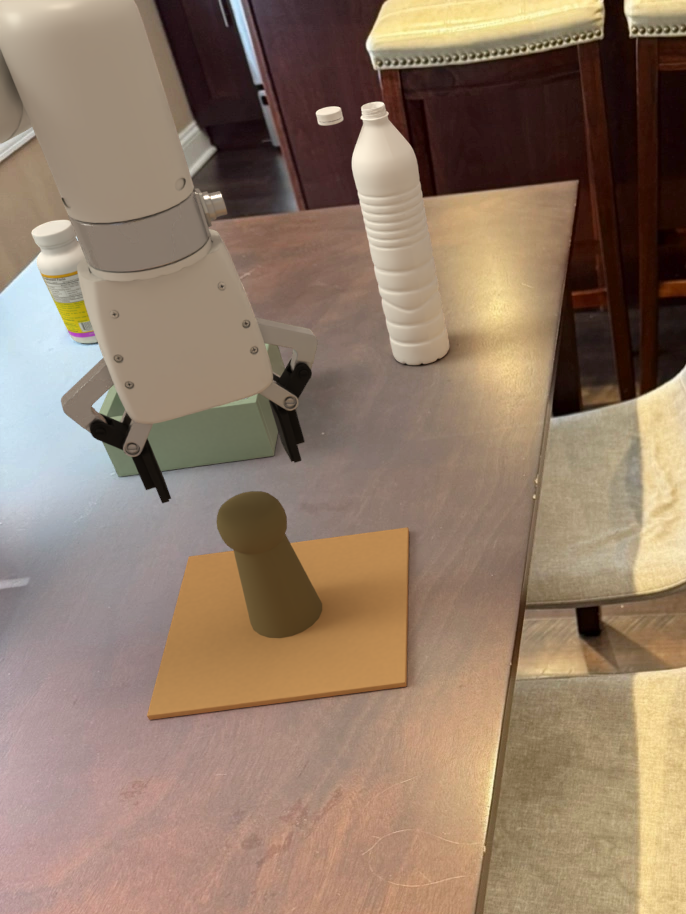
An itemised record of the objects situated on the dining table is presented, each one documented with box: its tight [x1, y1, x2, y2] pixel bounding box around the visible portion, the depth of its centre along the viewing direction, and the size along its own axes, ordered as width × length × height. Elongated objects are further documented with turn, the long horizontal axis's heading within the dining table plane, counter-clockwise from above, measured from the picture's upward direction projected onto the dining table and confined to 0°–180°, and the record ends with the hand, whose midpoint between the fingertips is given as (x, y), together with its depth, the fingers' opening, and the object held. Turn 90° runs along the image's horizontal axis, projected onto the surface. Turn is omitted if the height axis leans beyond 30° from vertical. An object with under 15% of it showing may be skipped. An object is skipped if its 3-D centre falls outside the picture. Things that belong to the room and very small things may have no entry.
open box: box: [98, 343, 286, 478], centre depth 105 cm, size 16×16×6 cm
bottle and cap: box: [315, 101, 450, 366], centre depth 105 cm, size 9×6×25 cm
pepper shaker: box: [216, 490, 322, 638], centre depth 79 cm, size 6×6×11 cm
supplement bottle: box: [31, 219, 98, 344], centre depth 122 cm, size 7×7×13 cm
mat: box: [146, 526, 410, 721], centre depth 84 cm, size 20×20×1 cm
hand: (228, 472), depth 74 cm, fingers open, 9 cm apart
